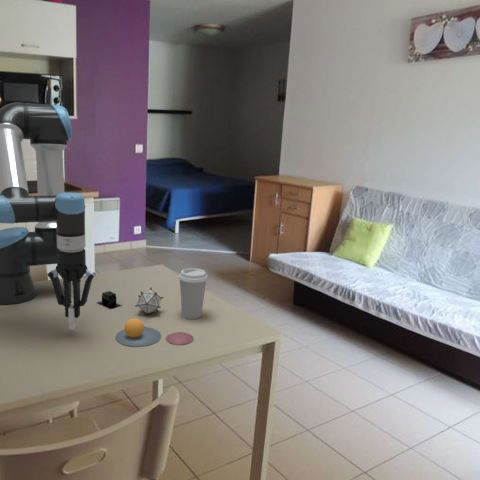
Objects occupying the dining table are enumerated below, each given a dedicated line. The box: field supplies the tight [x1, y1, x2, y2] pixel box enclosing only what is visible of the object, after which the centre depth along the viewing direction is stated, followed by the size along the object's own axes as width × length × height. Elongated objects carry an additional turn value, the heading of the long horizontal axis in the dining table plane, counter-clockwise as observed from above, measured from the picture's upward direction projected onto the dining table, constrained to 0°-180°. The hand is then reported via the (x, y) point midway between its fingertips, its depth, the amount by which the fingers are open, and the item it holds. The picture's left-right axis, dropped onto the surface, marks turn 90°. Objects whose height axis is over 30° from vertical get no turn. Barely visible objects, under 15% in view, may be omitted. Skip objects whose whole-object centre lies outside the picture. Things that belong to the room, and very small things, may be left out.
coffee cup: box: [177, 267, 209, 320], centre depth 155 cm, size 10×10×15 cm
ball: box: [124, 318, 145, 338], centre depth 138 cm, size 6×6×6 cm
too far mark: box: [165, 331, 194, 346], centre depth 140 cm, size 8×8×1 cm
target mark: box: [115, 326, 162, 348], centre depth 139 cm, size 13×13×1 cm
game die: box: [134, 286, 164, 317], centre depth 156 cm, size 9×8×10 cm
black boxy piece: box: [96, 290, 123, 310], centre depth 161 cm, size 12×7×5 cm, turn 51°
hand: (72, 327), depth 138 cm, fingers closed
